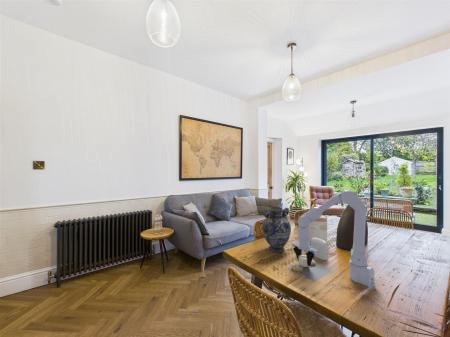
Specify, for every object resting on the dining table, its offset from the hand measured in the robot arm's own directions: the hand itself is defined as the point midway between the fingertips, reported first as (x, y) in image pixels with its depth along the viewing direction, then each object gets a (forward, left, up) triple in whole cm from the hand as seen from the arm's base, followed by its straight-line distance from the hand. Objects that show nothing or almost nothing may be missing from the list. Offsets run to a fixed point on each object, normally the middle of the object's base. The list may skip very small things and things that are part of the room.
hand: (304, 263), depth 110 cm
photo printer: (+3, -19, -3) cm, 19 cm away
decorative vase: (+28, -10, -3) cm, 29 cm away
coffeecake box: (+20, -43, -4) cm, 47 cm away
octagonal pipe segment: (0, 0, -1) cm, 1 cm away
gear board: (-3, 0, -3) cm, 5 cm away
